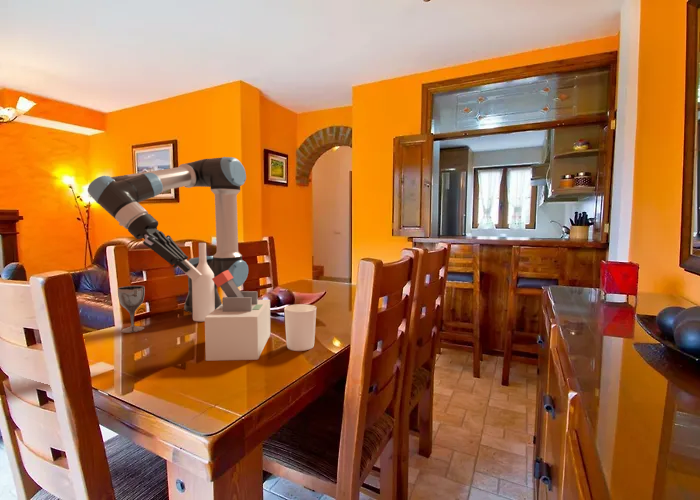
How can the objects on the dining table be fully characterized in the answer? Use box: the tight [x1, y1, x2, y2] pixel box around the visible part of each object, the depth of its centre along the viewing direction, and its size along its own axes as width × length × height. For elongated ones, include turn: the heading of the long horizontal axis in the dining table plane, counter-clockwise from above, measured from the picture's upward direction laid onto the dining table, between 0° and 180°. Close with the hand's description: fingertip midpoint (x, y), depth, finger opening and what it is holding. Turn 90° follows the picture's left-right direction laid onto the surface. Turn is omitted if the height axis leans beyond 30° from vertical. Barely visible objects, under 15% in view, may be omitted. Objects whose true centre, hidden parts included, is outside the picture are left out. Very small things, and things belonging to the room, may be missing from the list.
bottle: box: [192, 242, 215, 322], centre depth 134 cm, size 8×8×30 cm
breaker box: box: [204, 290, 271, 362], centre depth 104 cm, size 22×14×16 cm, turn 4°
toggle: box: [212, 270, 244, 297], centre depth 103 cm, size 6×4×11 cm
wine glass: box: [117, 284, 146, 334], centre depth 120 cm, size 8×8×15 cm
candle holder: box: [283, 303, 317, 352], centre depth 105 cm, size 10×10×12 cm
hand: (198, 278), depth 102 cm, fingers closed
